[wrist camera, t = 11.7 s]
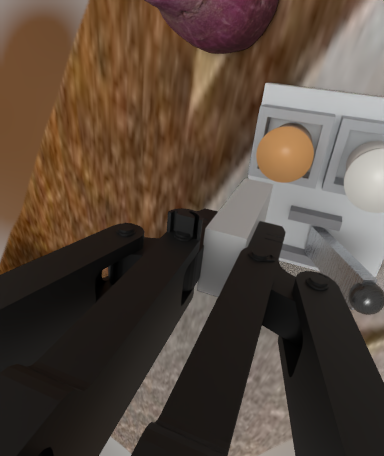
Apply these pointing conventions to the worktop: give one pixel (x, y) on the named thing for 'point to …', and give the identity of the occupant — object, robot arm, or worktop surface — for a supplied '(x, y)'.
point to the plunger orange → (285, 153)
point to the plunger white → (366, 177)
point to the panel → (322, 170)
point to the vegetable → (218, 22)
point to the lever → (344, 272)
